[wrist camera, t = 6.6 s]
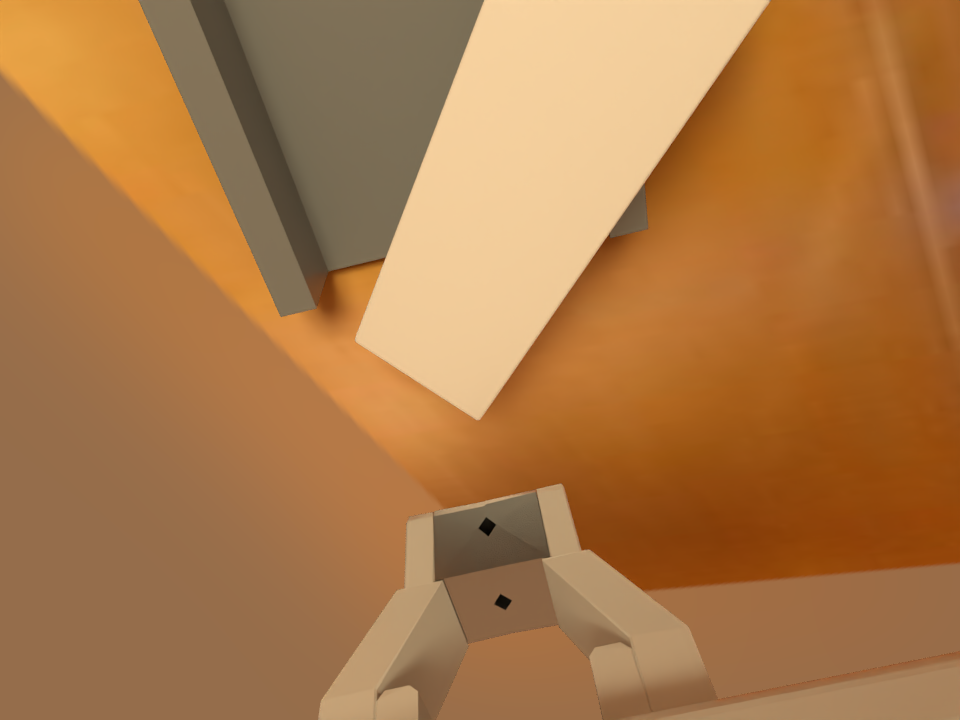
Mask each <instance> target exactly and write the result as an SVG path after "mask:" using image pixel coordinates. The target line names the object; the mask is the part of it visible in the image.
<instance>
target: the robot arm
mask: <svg viewBox="0 0 960 720" xmlns="http://www.w3.org/2000/svg"><path fill="white" fill-rule="evenodd" d="M536 491H537V493H536ZM537 496H538V497H537ZM539 505H540V506H539ZM555 625H559V628H560V629H561V630H562V631H563V632H564V633H565V634H566V635H567V636H568V637H569V638H570V640H571V641H572V642H573V643H574V644H575V645H576V646H577V647H578V648H579V649H580V650H581V652H582V653H583V654H584V655H585V656H586V657H587V658H588V659H589V660H590V662H591V667H592V672H593V676H594V681H595V686H596V690H597V695H598V700H599V705H600V709H601V714H602V719H603V720H960V651H959V652H954V653H949V654H944V655H939V656H934V657H929V658H923V659H918V660H913V661H908V662H903V663H898V664H893V665H889V666H884V667H878V668H873V669H868V670H863V671H858V672H853V673H848V674H843V675H838V676H833V677H828V678H823V679H818V680H813V681H807V682H802V683H798V684H792V685H787V686H782V687H777V688H772V689H767V690H762V691H757V692H752V693H747V694H742V695H737V696H732V697H727V698H722V699H718V698H717V695H716V693H715V690H714V688H713V685H712V683H711V680H710V678H709V676H708V673H707V671H706V668H705V666H704V663H703V661H702V659H701V656H700V653H699V651H698V649H697V646H696V644H695V641H694V639H693V636H692V634H691V631H690V629H689V627H688V626H687V625H686V624H685V623H683V622H682V621H681V620H679V619H678V618H677V617H676V616H674V615H673V614H672V613H671V612H669V611H668V610H667V609H665V608H664V607H663V606H662V605H660V604H659V603H658V602H656V601H655V600H654V599H653V598H651V597H650V596H649V595H647V594H646V593H645V592H644V591H642V590H641V589H640V588H639V587H637V586H636V585H635V584H633V583H632V582H631V581H630V580H628V579H627V578H626V577H624V576H623V575H622V574H621V573H619V572H618V571H617V570H616V569H614V568H613V567H612V566H610V565H609V564H608V563H607V562H605V561H604V560H603V559H601V558H600V557H599V556H598V555H596V554H595V553H594V552H593V551H591V550H590V549H588V550H581V547H580V543H579V539H578V536H577V532H576V528H575V525H574V521H573V517H572V514H571V510H570V507H569V503H568V499H567V496H566V492H565V488H564V486H563V485H562V484H556V485H552V486H548V487H543V488H539V489H535V490H531V491H526V492H522V493H518V494H513V495H509V496H504V497H500V498H496V499H491V500H487V501H484V502H479V503H474V504H469V505H464V506H458V507H453V508H448V509H443V510H438V511H435V512H430V513H425V514H420V515H415V516H410V517H409V518H408V521H407V523H406V554H405V583H404V589H400V590H397V591H396V592H395V593H394V595H393V597H392V598H391V600H390V601H389V602H388V604H387V605H386V607H385V608H384V610H383V611H382V612H381V614H380V616H379V617H378V618H377V620H376V621H375V623H374V624H373V626H372V627H371V629H370V630H369V632H368V633H367V634H366V636H365V637H364V639H363V640H362V642H361V643H360V645H359V646H358V647H357V649H356V651H355V652H354V653H353V655H352V656H351V658H350V659H349V661H348V662H347V664H346V665H345V667H344V668H343V670H342V671H341V672H340V674H339V675H338V677H337V678H336V680H335V681H334V683H333V684H332V686H331V687H330V688H329V690H328V691H327V693H326V694H325V696H324V697H323V699H322V700H321V705H320V711H319V719H318V720H436V718H437V716H438V714H439V712H440V709H441V707H442V705H443V702H444V701H445V698H446V696H447V694H448V691H449V689H450V687H451V685H452V683H453V680H454V678H455V676H456V673H457V671H458V669H459V667H460V664H461V662H462V660H463V658H464V655H465V653H466V651H467V649H468V643H472V642H476V641H481V640H485V639H489V638H493V637H498V636H502V635H506V634H510V633H515V632H521V631H526V630H532V629H538V628H543V627H549V626H555Z"/></svg>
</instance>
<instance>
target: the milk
mask: <svg viewBox="0 0 960 720" xmlns="http://www.w3.org/2000/svg"><path fill="white" fill-rule="evenodd" d="M770 1H771V0H484V2H483V4H482V7H481V10H480V12H479V15H478V18H477V20H476V23H475V25H474V28H473V31H472V33H471V36H470V39H469V41H468V44H467V46H466V49H465V52H464V54H463V57H462V59H461V62H460V65H459V67H458V70H457V73H456V75H455V78H454V80H453V83H452V86H451V88H450V91H449V93H448V96H447V99H446V101H445V104H444V107H443V109H442V112H441V114H440V117H439V120H438V122H437V125H436V128H435V130H434V133H433V135H432V138H431V141H430V143H429V146H428V148H427V151H426V154H425V156H424V159H423V162H422V164H421V167H420V169H419V172H418V175H417V177H416V180H415V182H414V185H413V188H412V190H411V193H410V196H409V198H408V201H407V203H406V206H405V209H404V211H403V214H402V217H401V219H400V222H399V224H398V227H397V230H396V232H395V235H394V237H393V240H392V243H391V245H390V248H389V251H388V253H387V256H386V258H385V261H384V264H383V266H382V269H381V271H380V274H379V277H378V279H377V282H376V285H375V287H374V290H373V292H372V295H371V298H370V300H369V303H368V306H367V308H366V311H365V313H364V316H363V319H362V321H361V324H360V326H359V329H358V332H357V334H356V337H355V342H356V343H358V344H359V345H361V346H362V347H364V348H366V349H367V350H369V351H370V352H372V353H373V354H375V355H376V356H378V357H380V358H381V359H383V360H384V361H386V362H387V363H389V364H390V365H392V366H393V367H395V368H397V369H398V370H400V371H401V372H403V373H404V374H406V375H407V376H409V377H410V378H412V379H414V380H415V381H417V382H418V383H420V384H421V385H423V386H424V387H426V388H428V389H429V390H431V391H432V392H434V393H435V394H437V395H438V396H440V397H441V398H443V399H445V400H446V401H448V402H449V403H451V404H452V405H454V406H455V407H457V408H458V409H460V410H462V411H463V412H465V413H466V414H468V415H469V416H471V417H472V418H474V419H476V420H480V419H481V418H482V417H483V415H484V414H485V412H486V411H487V410H488V408H489V407H490V405H491V404H492V402H493V401H494V399H495V398H496V397H497V395H498V394H499V392H500V391H501V389H502V388H503V386H504V385H505V384H506V382H507V381H508V379H509V378H510V376H511V375H512V373H513V372H514V371H515V369H516V368H517V366H518V365H519V363H520V362H521V360H522V359H523V358H524V356H525V355H526V353H527V352H528V350H529V349H530V347H531V346H532V345H533V343H534V342H535V340H536V339H537V337H538V336H539V334H540V333H541V332H542V330H543V329H544V327H545V326H546V324H547V323H548V321H549V320H550V319H551V317H552V316H553V314H554V313H555V311H556V310H557V308H558V307H559V306H560V304H561V303H562V301H563V300H564V298H565V297H566V295H567V294H568V293H569V291H570V290H571V288H572V287H573V285H574V284H575V282H576V281H577V280H578V278H579V277H580V275H581V274H582V272H583V271H584V269H585V268H586V267H587V265H588V264H589V262H590V261H591V259H592V258H593V256H594V255H595V254H596V252H597V251H598V249H599V248H600V246H601V245H602V243H603V242H604V241H605V239H606V238H607V236H608V235H609V233H610V232H611V231H612V229H613V228H614V226H615V225H616V223H617V222H618V220H619V219H620V218H621V216H622V215H623V213H624V212H625V210H626V209H627V207H628V206H629V205H630V203H631V202H632V200H633V199H634V197H635V196H636V194H637V193H638V192H639V190H640V189H641V187H642V186H643V184H644V183H645V181H646V180H647V179H648V177H649V176H650V174H651V173H652V171H653V170H654V168H655V167H656V166H657V164H658V163H659V161H660V160H661V158H662V157H663V155H664V154H665V153H666V151H667V150H668V148H669V147H670V145H671V144H672V142H673V141H674V140H675V138H676V137H677V135H678V134H679V132H680V131H681V129H682V128H683V127H684V125H685V124H686V122H687V121H688V119H689V118H690V116H691V115H692V114H693V112H694V111H695V109H696V108H697V106H698V105H699V103H700V102H701V101H702V99H703V98H704V96H705V95H706V93H707V92H708V90H709V89H710V88H711V86H712V85H713V83H714V82H715V80H716V79H717V77H718V76H719V75H720V73H721V72H722V70H723V69H724V67H725V66H726V64H727V63H728V62H729V60H730V59H731V57H732V56H733V54H734V53H735V51H736V50H737V49H738V47H739V46H740V44H741V43H742V41H743V40H744V38H745V37H746V36H747V34H748V33H749V31H750V30H751V28H752V27H753V25H754V24H755V23H756V21H757V20H758V18H759V17H760V15H761V14H762V13H763V11H764V10H765V8H766V7H767V5H768V4H769V2H770Z"/></svg>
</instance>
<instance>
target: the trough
mask: <svg viewBox="0 0 960 720" xmlns="http://www.w3.org/2000/svg"><path fill="white" fill-rule="evenodd" d="M483 2H484V0H139V3H140V5H141V7H142V9H143V11H144V14H145V16H146V18H147V20H148V23H149V25H150V27H151V29H152V31H153V34H154V36H155V38H156V40H157V43H158V45H159V47H160V49H161V51H162V54H163V56H164V58H165V60H166V63H167V65H168V67H169V69H170V72H171V74H172V76H173V78H174V80H175V83H176V85H177V87H178V89H179V92H180V94H181V96H182V98H183V100H184V103H185V105H186V107H187V109H188V112H189V114H190V116H191V118H192V120H193V123H194V125H195V127H196V129H197V132H198V134H199V136H200V138H201V140H202V143H203V145H204V147H205V149H206V152H207V154H208V156H209V158H210V160H211V163H212V165H213V167H214V169H215V172H216V174H217V176H218V178H219V181H220V183H221V185H222V187H223V189H224V192H225V194H226V196H227V198H228V201H229V203H230V205H231V207H232V209H233V212H234V214H235V216H236V218H237V221H238V223H239V225H240V227H241V229H242V232H243V234H244V236H245V238H246V241H247V243H248V245H249V247H250V249H251V252H252V254H253V256H254V258H255V261H256V263H257V265H258V267H259V270H260V272H261V274H262V276H263V278H264V281H265V283H266V285H267V287H268V290H269V292H270V294H271V296H272V298H273V301H274V303H275V305H276V307H277V310H278V312H279V314H280V316H281V317H283V316H287V315H291V314H295V313H299V312H304V311H308V310H312V309H316V308H317V306H318V302H319V299H320V296H321V293H322V290H323V287H324V284H325V281H326V277H327V274H328V271H332V270H336V269H340V268H345V267H349V266H353V265H357V264H361V263H365V262H369V261H373V260H378V259H382V258H386V256H387V253H388V251H389V248H390V245H391V243H392V240H393V237H394V235H395V232H396V230H397V227H398V224H399V222H400V219H401V217H402V214H403V211H404V209H405V206H406V203H407V201H408V198H409V196H410V193H411V190H412V188H413V185H414V182H415V180H416V177H417V175H418V172H419V169H420V167H421V164H422V162H423V159H424V156H425V154H426V151H427V148H428V146H429V143H430V141H431V138H432V135H433V133H434V130H435V128H436V125H437V122H438V120H439V117H440V114H441V112H442V109H443V107H444V104H445V101H446V99H447V96H448V93H449V91H450V88H451V86H452V83H453V80H454V78H455V75H456V73H457V70H458V67H459V65H460V62H461V59H462V57H463V54H464V52H465V49H466V46H467V44H468V41H469V39H470V36H471V33H472V31H473V28H474V25H475V23H476V20H477V18H478V15H479V12H480V10H481V7H482V4H483ZM646 229H648V220H647V207H646V195H645V183H644V184H643V186H642V187H641V189H640V190H639V192H638V193H637V194H636V196H635V197H634V199H633V200H632V202H631V203H630V205H629V206H628V207H627V209H626V210H625V212H624V213H623V215H622V216H621V218H620V219H619V220H618V222H617V223H616V225H615V226H614V228H613V229H612V231H611V232H610V233H609V237H610V238H613V237H617V236H621V235H625V234H629V233H634V232H638V231H642V230H646Z"/></svg>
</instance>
